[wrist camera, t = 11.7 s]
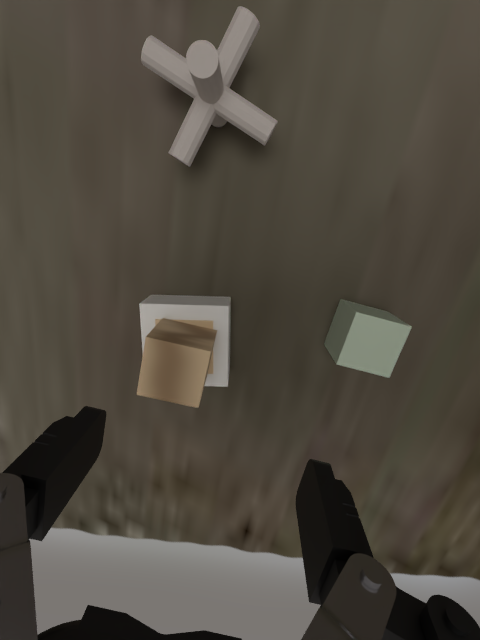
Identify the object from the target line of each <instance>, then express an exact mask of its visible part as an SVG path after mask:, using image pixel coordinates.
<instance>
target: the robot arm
mask: <svg viewBox="0 0 480 640" xmlns="http://www.w3.org/2000/svg"><path fill="white" fill-rule="evenodd" d="M105 420H106V411H105V410H101V409H97V408H92V407H88V406H85V407H84V408H83V409H82V410H81V411H80V412H79V413H78V414H77V415H76V416H75V417H74V418H73V417H68V416H66V417H64V418H62V419H60V420H58V421H56V422H54V423H52V424H51V425H50V426H49V427H48V428H47V429H46V430H45V431H44V432H43V434H42V435H40V436H39V437H38V438H37V439H36V440H35V442H34V443H32V444H31V445H30V446H29V447H28V448H27V449H26V450H25V451H24V452H23V453H22V454H21V455H20V456H19V457H18V458H17V459H16V460H15V461H14V462H13V463H12V464H11V465H10V466H9V467H8V468H7V469H6V470H5V471H4V472H3V473H0V640H242V639H241V638H236V637H232V636H227V635H222V634H218V633H213V632H209V631H195V632H186V633H176V634H168V635H164V634H160V633H158V632H156V631H155V630H153V629H151V628H150V627H148V626H146V625H145V624H143V623H141V622H140V621H138V620H136V619H134V618H133V617H131V616H129V615H128V614H126V613H122V612H117V611H113V610H109V609H104V608H99V607H94V606H90V605H88V606H87V608H86V610H85V613H84V615H83V617H82V619H81V620H76V621H71V622H67V623H63V624H60V625H58V626H55V627H52V628H50V629H48V630H46V631H44V632H42V633H40V634H39V635H37V624H36V611H35V597H34V584H33V571H32V559H31V548H30V547H31V546H30V541H29V539H35V540H39V541H42V540H43V538H44V537H45V536H46V534H47V533H48V531H49V530H50V528H51V527H52V525H53V524H54V522H55V521H56V519H57V518H58V516H59V515H60V513H61V512H62V510H63V509H64V507H65V506H66V504H67V503H68V501H69V500H70V498H71V497H72V495H73V494H74V492H75V491H76V490H77V488H78V487H79V485H80V484H81V482H82V481H83V479H84V478H85V476H86V475H87V473H88V472H89V470H90V469H91V467H92V466H93V464H94V463H95V461H96V460H97V458H98V456H99V453H100V451H101V447H102V443H103V435H104V428H105ZM296 512H297V519H298V526H299V533H300V540H301V547H302V554H303V562H304V569H305V575H306V583H307V590H308V597H309V602H311V603H315V604H320V605H321V606H320V608H319V609H318V611H317V613H316V614H315V616H314V618H313V620H312V622H311V623H310V625H309V627H308V629H307V630H306V632H305V634H304V636H303V638H302V639H301V640H480V628H479V626H478V624H477V623H476V621H475V620H474V619H473V618H472V617H471V615H470V614H469V613H468V612H467V611H466V610H465V609H464V608H463V607H461V606H460V605H459V604H458V603H456V602H455V601H453V600H452V599H449V598H448V597H445V596H442V595H434V596H431V597H430V598H429V600H428V602H427V603H424V602H422V601H420V600H419V599H417V598H415V597H413V596H411V595H409V594H408V593H406V592H404V591H402V590H400V589H399V588H397V587H396V586H395V583H394V581H393V578H392V577H391V575H390V573H389V572H388V571H387V569H386V568H385V567H384V566H383V565H382V564H381V563H380V562H378V561H377V560H376V559H374V558H373V555H372V552H371V549H370V546H369V543H368V540H367V538H366V535H365V532H364V529H363V526H362V523H361V521H360V519H359V515H358V512H357V509H356V508H355V503H354V501H353V498H352V495H351V492H350V491H349V490H348V488H347V487H346V486H345V484H344V483H343V482H342V481H341V480H337V479H335V478H334V474H333V471H332V468H331V465H330V464H329V463H325V462H321V461H317V460H313V459H310V460H309V461H308V463H307V465H306V468H305V471H304V474H303V476H302V479H301V482H300V485H299V487H298V491H297V495H296Z"/></svg>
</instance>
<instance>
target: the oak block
mask: <svg viewBox="0 0 480 640" xmlns="http://www.w3.org/2000/svg"><path fill="white" fill-rule="evenodd" d="M216 333H217V330H213V329H209V328H204V327H200V326H196V325H191V324H187V323H183V322H178V321H174V320H170V319H165V318H162V319H161V320H160V321H159V323H158V324H157V325H156V326H155V327H154V328H153V329H152V330H151V332H150V333H149V334H148V335H147V336H146V339H145V345H144V351H143V358H142V364H141V370H140V377H139V383H138V389H137V395H141V396H145V397H150V398H155V399H159V400H164V401H168V402H173V403H177V404H182V405H187V406H191V407H196V408H199V404H200V400H201V396H202V393H203V389H204V385H205V382H206V378H207V373H208V369H209V364H210V360H211V356H212V351H213V347H214V342H215V338H216Z"/></svg>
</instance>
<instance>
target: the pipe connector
mask: <svg viewBox="0 0 480 640" xmlns="http://www.w3.org/2000/svg"><path fill="white" fill-rule="evenodd" d="M259 28H260V24H259V21H258V20H257V18H256V17H255V15H254V14H253V13H252V12H250V11H249V10H248V9H246V8H244V7H238V8H237V10H236V12H235V14H234V17H233V19H232V21H231V23H230V25H229V27H228V29H227V31H226V33H225V35H224V38H223V40H222V42H221V44H220V46H219V48H218V50H216V49H215V47H214V46H213V45H212V44H211V43H210V42H208V41H205V40H198V41H196V42H194V43H193V44H192V45H191V46H190V47H189V49H188V52H187V56H186V58H184V57H183V56H181V55H180V54H178V53H177V52H175V51H174V50H172V49H171V48H170V47H168V46H167V45H165V44H164V43H162V42H161V41H159V40H158V39H156V38H155V37H153V36H152V35H151V36H149V37H148V38H147V40H146V41H145V43H144V46H143V49H142V54H141V61H142V64H143V65H144V66H146V67H147V68H149V69H150V70H152V71H153V72H155V73H156V74H158V75H159V76H161V77H162V78H164V79H165V80H167V81H168V82H170V83H171V84H173V85H174V86H176V87H177V88H179V89H180V90H182V91H183V92H185V93H186V94H188V95H189V96H191V97H192V98H194V100H193V103H192V105H191V107H190V109H189V111H188V113H187V115H186V117H185V119H184V121H183V124H182V126H181V128H180V130H179V132H178V134H177V136H176V138H175V140H174V142H173V145H172V147H171V149H170V151H169V154H170V155H171V156H173V157H174V158H176V159H177V160H179V161H181V162H182V163H184V164H185V165H187V166H189V167H190V166H191V164H192V162H193V160H194V158H195V156H196V154H197V152H198V150H199V148H200V146H201V144H202V142H203V140H204V138H205V136H206V134H207V132H208V130H209V128H210V126H211V124H212V125H213V126H215V127H222V126H224V125H225V124H226V123H227V121H228V122H230V123H231V124H233V125H234V126H236V127H237V128H239V129H240V130H242V131H243V132H245V133H246V134H248V135H249V136H251V137H252V138H254V139H255V140H257V141H258V142H260V143H261V144H263V145H264V146H265V145H266V144H267V142H268V140H269V139H270V137H271V135H272V133H273V131H274V129H275V127H276V125H277V123H278V121H277V120H275V119H274V118H272V117H271V116H269V115H268V114H267V113H265V112H264V111H262V110H261V109H259V108H258V107H256V106H255V105H253V104H252V103H250V102H249V101H247V100H246V99H244V98H243V97H242V96H240V95H239V94H237V93H236V92H234V91H233V90H231V89H230V86H231V84H232V82H233V80H234V78H235V76H236V74H237V72H238V70H239V68H240V66H241V64H242V62H243V60H244V58H245V56H246V54H247V52H248V50H249V48H250V46H251V44H252V42H253V40H254V38H255V36H256V34H257V32H258V30H259Z"/></svg>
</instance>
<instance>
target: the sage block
mask: <svg viewBox="0 0 480 640" xmlns="http://www.w3.org/2000/svg"><path fill="white" fill-rule="evenodd" d="M411 327H412V326H410V325H408V324H407V323H405V322H404V321H402V320H400V319H399V318H397V317H396V316H394V315H393V314H391V313H389V312H388V311H384V310H380V309H377V308H373V307H369V306H365V305H362V304H358V303H354V302H350V301H347V300H343V299H340V301H339V304H338V307H337V310H336V312H335V315H334V318H333V321H332V323H331V326H330V329H329V332H328V334H327V337H326V340H325V343H324V345H325V347H326V349H327V350H328V352H329V353H330V355H331V357H332V358H333V360H334V361H335V363H336V364H337V365H341V366H345V367H349V368H353V369H357V370H361V371H364V372H368V373H372V374H376V375H380V376H384V377H388V378H389V377H390V375H391V373H392V371H393V368H394V366H395V364H396V361H397V359H398V357H399V355H400V352H401V350H402V348H403V346H404V343H405V341H406V339H407V337H408V334H409V332H410V330H411Z"/></svg>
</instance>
